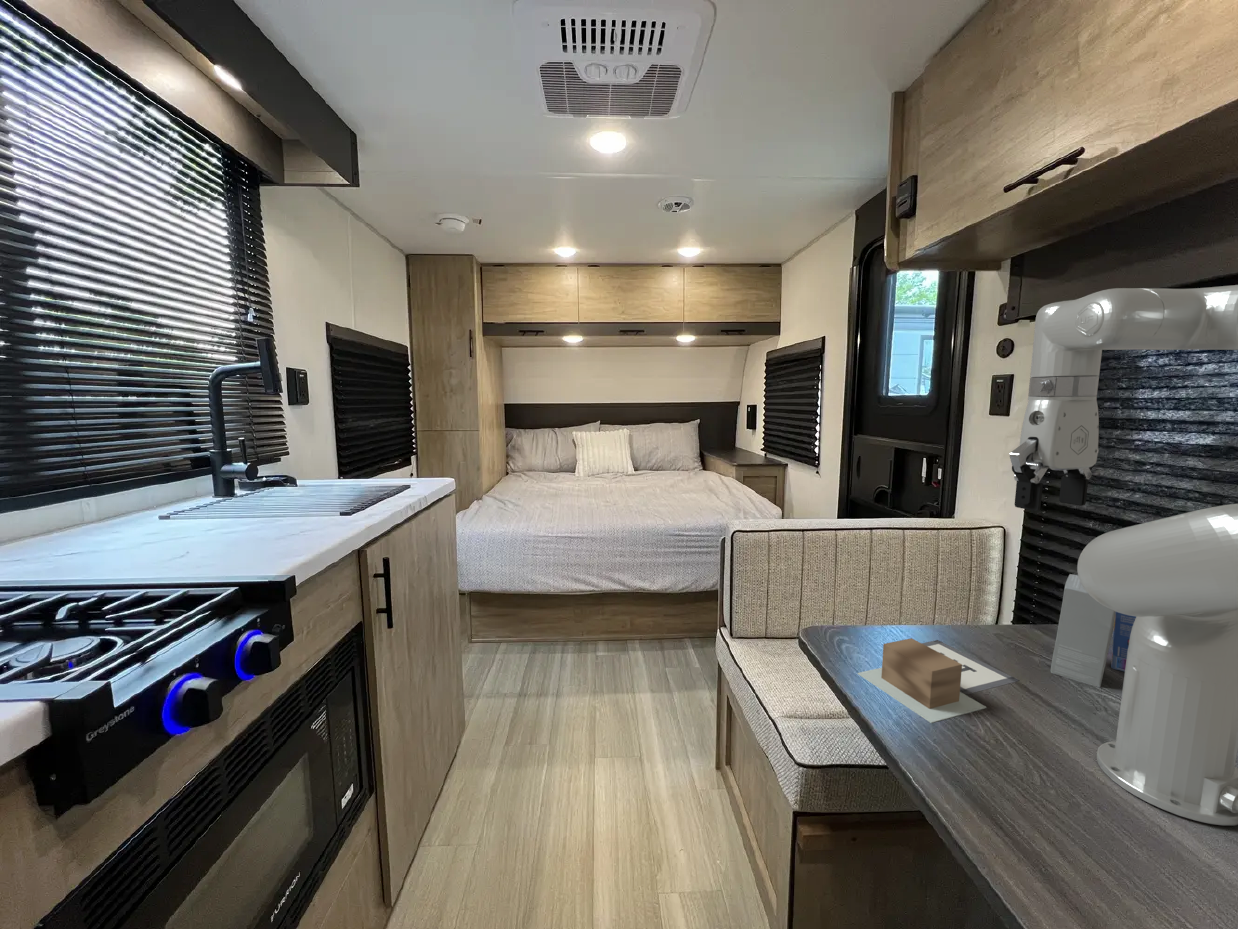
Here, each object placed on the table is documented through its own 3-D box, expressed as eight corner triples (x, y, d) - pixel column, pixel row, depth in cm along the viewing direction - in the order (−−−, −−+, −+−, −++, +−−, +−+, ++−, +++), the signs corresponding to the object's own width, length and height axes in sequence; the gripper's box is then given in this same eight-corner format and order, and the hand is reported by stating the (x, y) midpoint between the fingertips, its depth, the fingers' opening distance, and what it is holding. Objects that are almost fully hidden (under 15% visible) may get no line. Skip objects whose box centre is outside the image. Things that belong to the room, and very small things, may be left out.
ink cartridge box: (1110, 648, 95) (1119, 573, 93) (1153, 658, 91) (1164, 580, 89) (1108, 668, 88) (1118, 587, 86) (1154, 680, 84) (1166, 596, 82)
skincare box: (1054, 656, 92) (1063, 571, 90) (1109, 671, 87) (1120, 581, 85) (1048, 674, 86) (1058, 584, 84) (1106, 691, 81) (1119, 595, 79)
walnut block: (959, 701, 78) (962, 664, 77) (929, 708, 76) (932, 671, 76) (909, 671, 87) (911, 638, 86) (881, 677, 85) (883, 643, 84)
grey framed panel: (1019, 686, 84) (1019, 680, 84) (966, 700, 80) (966, 694, 80) (937, 645, 98) (937, 639, 98) (888, 655, 94) (888, 650, 94)
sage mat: (985, 713, 77) (986, 707, 77) (930, 728, 73) (931, 722, 73) (907, 667, 90) (907, 661, 90) (857, 678, 87) (857, 673, 86)
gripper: (1050, 390, 67) (1037, 516, 70) (1132, 389, 73) (1118, 507, 75) (992, 390, 74) (982, 505, 77) (1072, 390, 80) (1060, 497, 82)
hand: (1049, 506), depth 76 cm, fingers open, 9 cm apart
